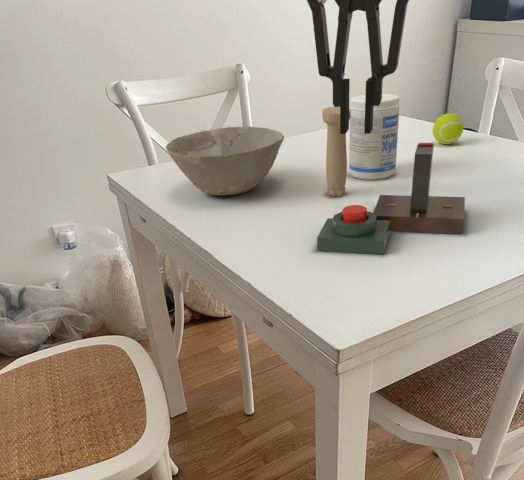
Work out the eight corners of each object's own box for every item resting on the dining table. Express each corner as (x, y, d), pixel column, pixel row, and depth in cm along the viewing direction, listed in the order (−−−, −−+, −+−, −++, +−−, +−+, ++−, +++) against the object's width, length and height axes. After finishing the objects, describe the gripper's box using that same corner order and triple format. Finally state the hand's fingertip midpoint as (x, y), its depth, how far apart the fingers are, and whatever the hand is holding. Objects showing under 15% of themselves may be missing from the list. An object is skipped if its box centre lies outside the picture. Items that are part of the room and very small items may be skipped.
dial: (426, 212, 85) (432, 152, 80) (409, 212, 86) (414, 152, 81) (428, 199, 90) (434, 142, 85) (412, 199, 91) (417, 142, 85)
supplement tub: (390, 182, 107) (395, 102, 98) (343, 180, 110) (344, 102, 102) (399, 168, 114) (404, 92, 106) (354, 166, 117) (356, 93, 109)
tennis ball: (460, 140, 128) (464, 110, 125) (462, 147, 123) (466, 116, 119) (431, 140, 130) (434, 110, 126) (431, 148, 125) (434, 117, 121)
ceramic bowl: (307, 190, 106) (306, 137, 101) (203, 219, 98) (195, 163, 92) (252, 167, 123) (248, 120, 117) (158, 190, 114) (149, 141, 108)
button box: (389, 233, 86) (390, 209, 84) (383, 254, 80) (384, 229, 77) (327, 230, 89) (327, 207, 86) (317, 250, 83) (316, 226, 80)
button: (368, 216, 83) (368, 205, 82) (364, 224, 80) (364, 213, 79) (344, 215, 84) (345, 204, 83) (340, 223, 81) (340, 212, 80)
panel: (462, 211, 91) (464, 195, 90) (462, 234, 83) (464, 218, 82) (379, 208, 95) (379, 193, 94) (371, 230, 87) (371, 214, 86)
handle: (347, 188, 106) (348, 105, 97) (350, 198, 100) (352, 113, 92) (322, 189, 106) (321, 107, 98) (324, 200, 101) (324, 115, 92)
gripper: (434, -90, 62) (416, 124, 76) (302, -75, 67) (307, 125, 80) (430, -96, 57) (412, 137, 70) (286, -78, 61) (295, 138, 74)
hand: (356, 131), depth 75 cm, fingers open, 3 cm apart
